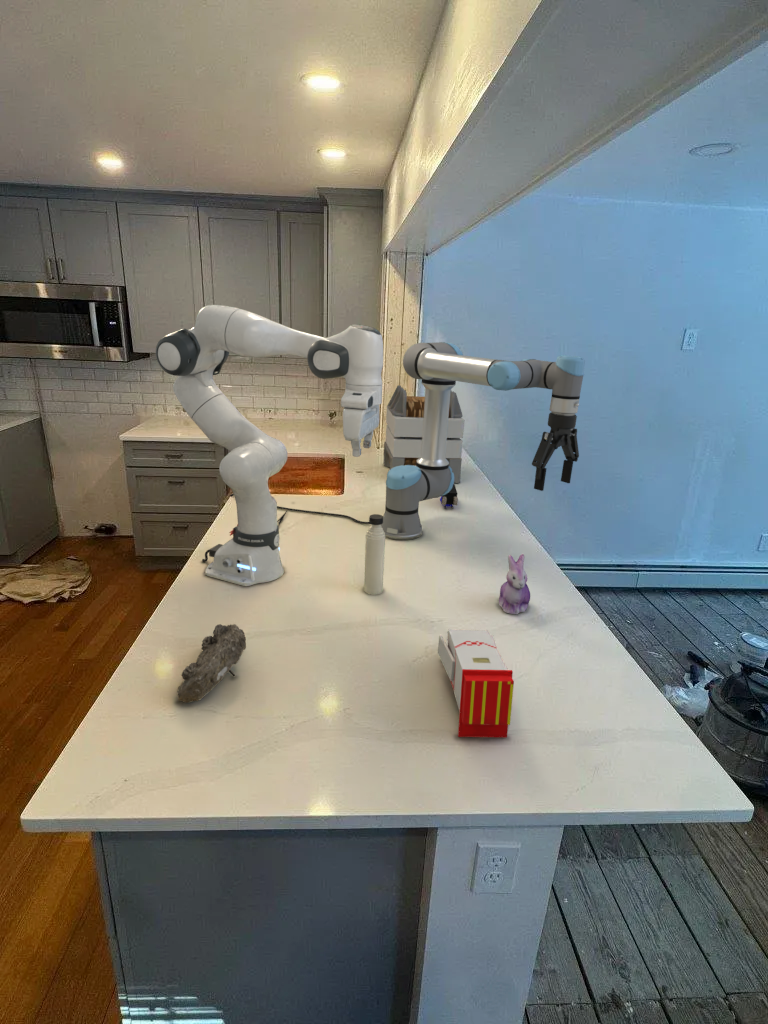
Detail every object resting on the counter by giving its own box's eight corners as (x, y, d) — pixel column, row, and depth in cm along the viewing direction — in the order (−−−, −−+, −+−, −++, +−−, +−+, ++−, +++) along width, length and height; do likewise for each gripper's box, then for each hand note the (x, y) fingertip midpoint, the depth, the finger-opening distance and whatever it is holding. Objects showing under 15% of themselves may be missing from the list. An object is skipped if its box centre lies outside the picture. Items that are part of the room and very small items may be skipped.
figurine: (512, 619, 147) (519, 566, 142) (488, 601, 156) (494, 551, 151) (540, 611, 151) (548, 560, 146) (515, 594, 160) (522, 546, 155)
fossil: (199, 626, 130) (246, 596, 125) (228, 655, 132) (275, 626, 127) (155, 696, 110) (209, 664, 105) (190, 728, 113) (244, 697, 108)
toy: (488, 613, 130) (523, 677, 101) (484, 667, 133) (517, 744, 104) (435, 612, 130) (455, 676, 101) (432, 666, 133) (451, 743, 103)
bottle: (362, 593, 157) (365, 520, 150) (365, 585, 162) (367, 513, 155) (381, 595, 157) (385, 522, 149) (383, 586, 162) (387, 515, 154)
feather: (294, 505, 227) (296, 501, 226) (277, 528, 200) (280, 524, 199) (290, 503, 226) (292, 499, 226) (273, 526, 200) (276, 521, 199)
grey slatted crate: (382, 463, 289) (386, 382, 275) (445, 464, 293) (451, 384, 279) (390, 482, 257) (394, 392, 243) (460, 483, 261) (468, 394, 247)
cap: (368, 524, 151) (368, 518, 150) (369, 519, 154) (370, 513, 154) (382, 525, 151) (382, 519, 150) (383, 520, 154) (383, 514, 154)
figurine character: (457, 514, 225) (453, 498, 239) (459, 497, 222) (455, 481, 236) (441, 513, 225) (437, 497, 239) (442, 496, 222) (439, 481, 235)
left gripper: (362, 389, 147) (361, 441, 152) (338, 400, 128) (337, 460, 133) (386, 391, 146) (384, 444, 150) (365, 402, 127) (363, 462, 132)
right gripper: (548, 419, 148) (537, 496, 155) (598, 411, 163) (586, 482, 171) (525, 414, 153) (515, 489, 160) (575, 407, 169) (564, 476, 176)
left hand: (362, 451), depth 141 cm, fingers open, 8 cm apart
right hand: (552, 485), depth 166 cm, fingers open, 13 cm apart
